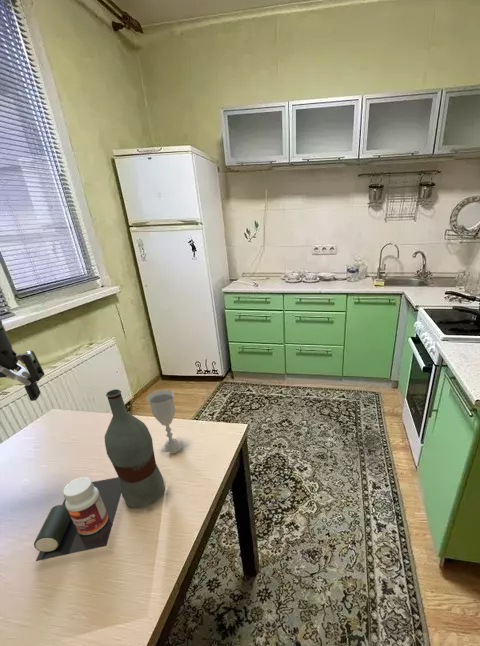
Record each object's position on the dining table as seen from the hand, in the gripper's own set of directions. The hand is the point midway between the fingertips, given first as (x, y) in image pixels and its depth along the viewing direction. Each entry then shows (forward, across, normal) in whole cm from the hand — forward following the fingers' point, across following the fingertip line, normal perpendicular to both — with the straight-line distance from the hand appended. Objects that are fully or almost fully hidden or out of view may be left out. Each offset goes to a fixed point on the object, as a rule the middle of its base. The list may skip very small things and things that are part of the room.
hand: (12, 401), depth 67 cm
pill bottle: (+27, +11, -12) cm, 31 cm away
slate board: (+28, +9, -8) cm, 31 cm away
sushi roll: (+27, +4, -12) cm, 30 cm away
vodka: (+28, +21, -6) cm, 36 cm away
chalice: (+28, +26, +12) cm, 40 cm away
